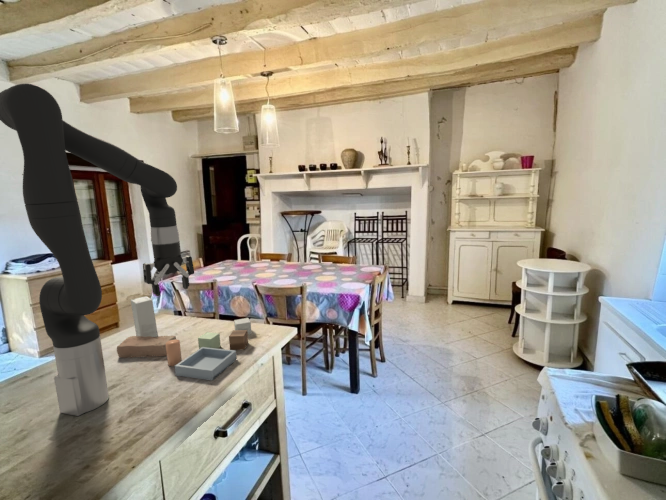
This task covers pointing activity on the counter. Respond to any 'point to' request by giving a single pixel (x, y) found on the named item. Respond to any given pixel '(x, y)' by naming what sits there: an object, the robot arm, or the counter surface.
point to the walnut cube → (238, 339)
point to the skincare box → (144, 317)
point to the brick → (144, 346)
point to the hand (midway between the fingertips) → (172, 291)
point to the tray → (205, 363)
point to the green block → (209, 340)
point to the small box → (243, 325)
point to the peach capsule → (173, 352)
